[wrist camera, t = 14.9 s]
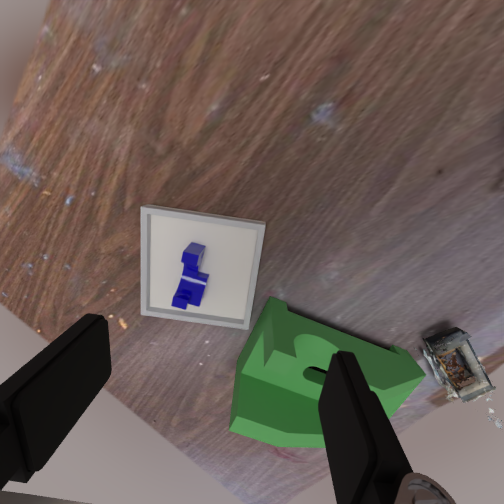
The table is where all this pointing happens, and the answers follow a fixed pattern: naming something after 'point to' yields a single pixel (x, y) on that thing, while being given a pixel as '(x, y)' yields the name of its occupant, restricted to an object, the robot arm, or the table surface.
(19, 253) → the table surface
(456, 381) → the silver rectangular box
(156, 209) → the tray
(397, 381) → the green cradle stand
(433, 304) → the table surface
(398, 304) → the table surface
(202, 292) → the cable holder
